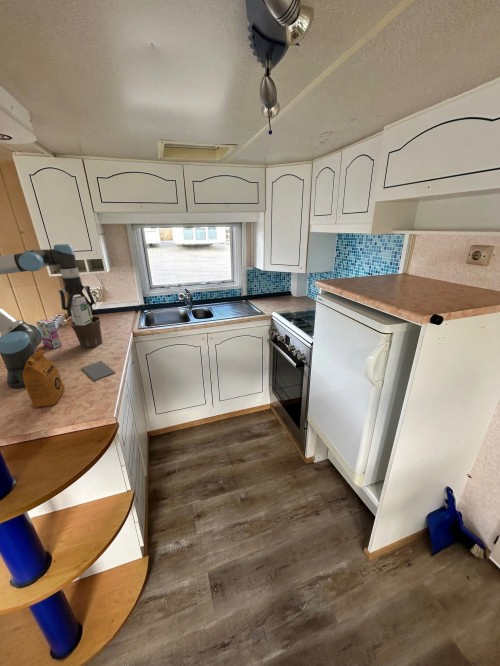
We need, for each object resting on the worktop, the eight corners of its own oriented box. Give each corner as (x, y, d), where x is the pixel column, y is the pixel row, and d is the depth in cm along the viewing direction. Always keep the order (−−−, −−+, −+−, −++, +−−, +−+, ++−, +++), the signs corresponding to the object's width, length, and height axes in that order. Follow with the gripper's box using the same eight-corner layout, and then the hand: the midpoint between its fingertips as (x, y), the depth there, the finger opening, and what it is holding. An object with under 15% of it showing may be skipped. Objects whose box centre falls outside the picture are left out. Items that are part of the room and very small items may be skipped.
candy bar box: (62, 346, 167) (54, 321, 160) (53, 349, 163) (45, 324, 156) (52, 343, 171) (44, 318, 165) (43, 346, 167) (35, 321, 161)
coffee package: (70, 390, 122) (55, 346, 114) (55, 407, 111) (38, 360, 103) (46, 392, 121) (30, 348, 113) (29, 409, 110) (10, 362, 101)
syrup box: (84, 325, 141) (77, 298, 135) (74, 324, 142) (67, 298, 136) (92, 321, 146) (85, 295, 140) (83, 321, 147) (76, 295, 141)
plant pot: (90, 351, 159) (83, 326, 153) (70, 348, 164) (63, 323, 158) (111, 340, 173) (106, 317, 167) (92, 337, 178) (86, 314, 172)
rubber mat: (94, 381, 129) (94, 380, 129) (81, 368, 140) (81, 367, 140) (115, 372, 136) (115, 371, 135) (101, 361, 147) (101, 360, 147)
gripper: (49, 280, 125) (62, 326, 134) (95, 274, 139) (105, 316, 148) (44, 278, 130) (58, 323, 138) (90, 272, 144) (100, 313, 152)
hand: (82, 319), depth 143 cm, fingers closed on syrup box, 8 cm apart
